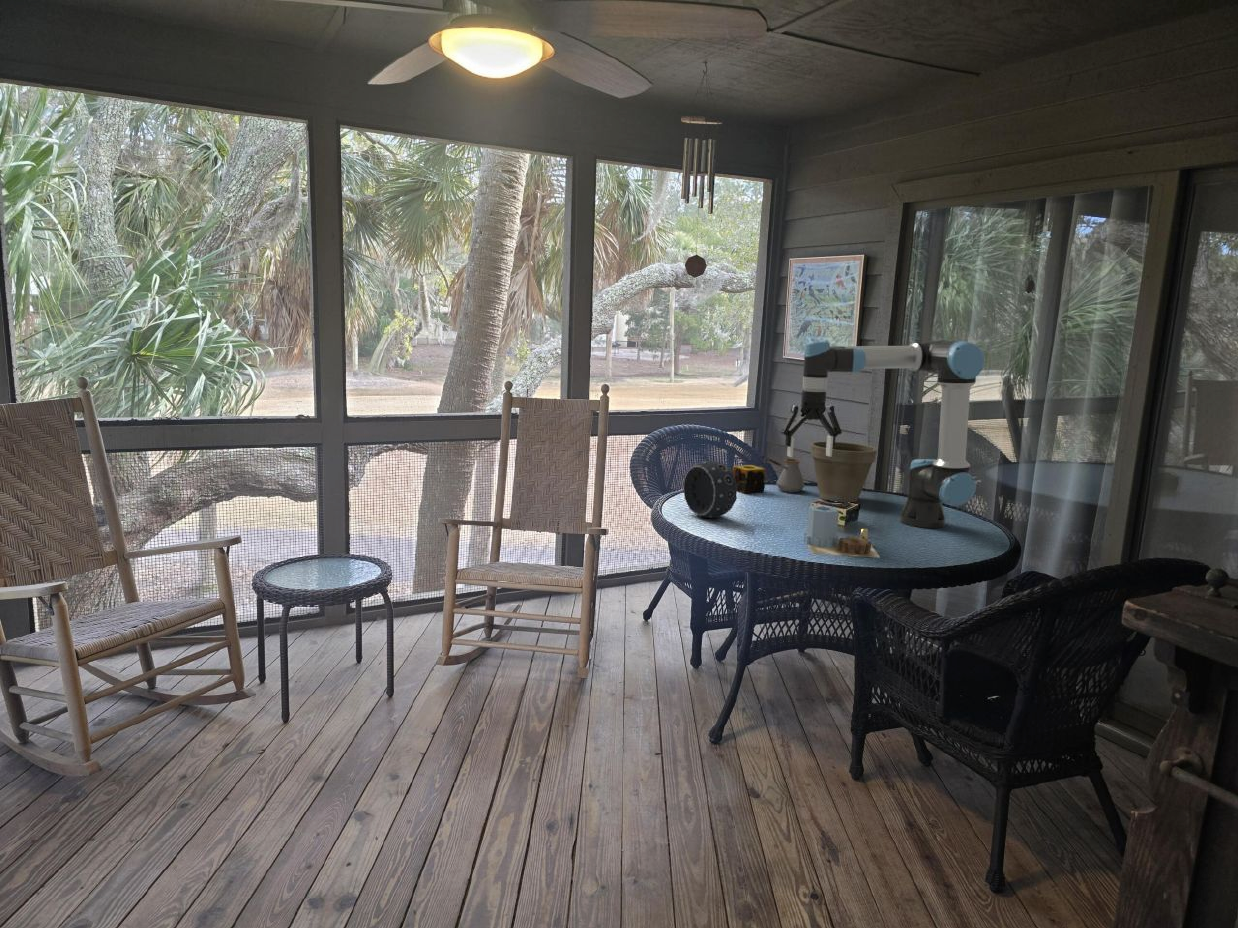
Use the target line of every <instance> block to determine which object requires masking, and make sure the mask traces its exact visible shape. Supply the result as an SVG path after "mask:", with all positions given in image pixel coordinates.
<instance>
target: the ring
mask: <svg viewBox="0 0 1238 928" xmlns="http://www.w3.org/2000/svg"><path fill="white" fill-rule="evenodd" d="M683 481H684V482H683V485H682V487H683V495H684V498H683V499H684V500H685V502H686V505H687V507H688V509H689V510H690V511H692V512H693V513H694V514H695V515H696V516H699V517H700V518H703V519H704V518H708V519H714V518H719V517H721V516H724V515H726V514H727V513H728V512H729V511H731V510H732V508H733V507H734V505H735V503H736V502H737V497H738V496H737V493H738V492H737V484H736V482H735V478H734V474H733V470H731V469H730V468H729V466H727V465H726V464H724V463H722V462H720V461H716V460H704V461H699V462H696V463H694V465H692V466H691V468H689V470H688V471H687V473H685V477H684V480H683Z"/></svg>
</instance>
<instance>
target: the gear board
mask: <svg viewBox="0 0 1238 928" xmlns="http://www.w3.org/2000/svg"><path fill="white" fill-rule="evenodd" d="M806 545H807V546H808V549H809V551H810V554H816V555H818V554H819V555H830V556H831V555H832V556H835V555H836V556H847V557H848V556H849V557H861V558H862V557H863V558H864V557H866V558H879V559H881V557H880V555H879V554H878V552H877V551H876V549H875V548H874V546H873V545H872V544H871V551H870V554H864V555H859V554H854V555H852V554H850V553H843V552H841V551H842V550H839V549H838V546H839V543H838V546H833V547H831V548H827V547H820V546H819V547H815V546H814V545H811V544H806Z"/></svg>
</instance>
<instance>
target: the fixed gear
mask: <svg viewBox="0 0 1238 928" xmlns="http://www.w3.org/2000/svg"><path fill="white" fill-rule="evenodd" d="M871 545H872V541H869V540H868V539H867V540H866V539H860V537H859V536H857V535H855V536H845V537H840V538H839V546H838V549H839V550H842V551H841V552H843V553H850V554H852V555H854V554H859V555H864V554H870V551H871Z"/></svg>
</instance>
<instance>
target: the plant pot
mask: <svg viewBox="0 0 1238 928" xmlns="http://www.w3.org/2000/svg"><path fill="white" fill-rule="evenodd" d="M826 444H827V441H814V442H812V443H811V444H810V445H811V447H810V448H811V449H810V455H811V457H812V459H813V464H814V472H815V476H816V477H815V478H816V483H817V489H818V494H819V498H820V499H822V500H824V501H827V500H830V501H829V502H831V501H837V502H854V503H857V502H858V500H859V498H860V496H861V493H862V491H863V488H864V486H865V484H866V480H867V477H868V475H869V473H870V470H871V468H872V465H873V463H875V461H876V458H877V454H878V453H877V451H878V450H877V448H876V447H873V446H870V445H866V444H860V443H854V442H844V441H835V445H834V446H833V447H832V457H829V456H826ZM837 502H836V503H837Z"/></svg>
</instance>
